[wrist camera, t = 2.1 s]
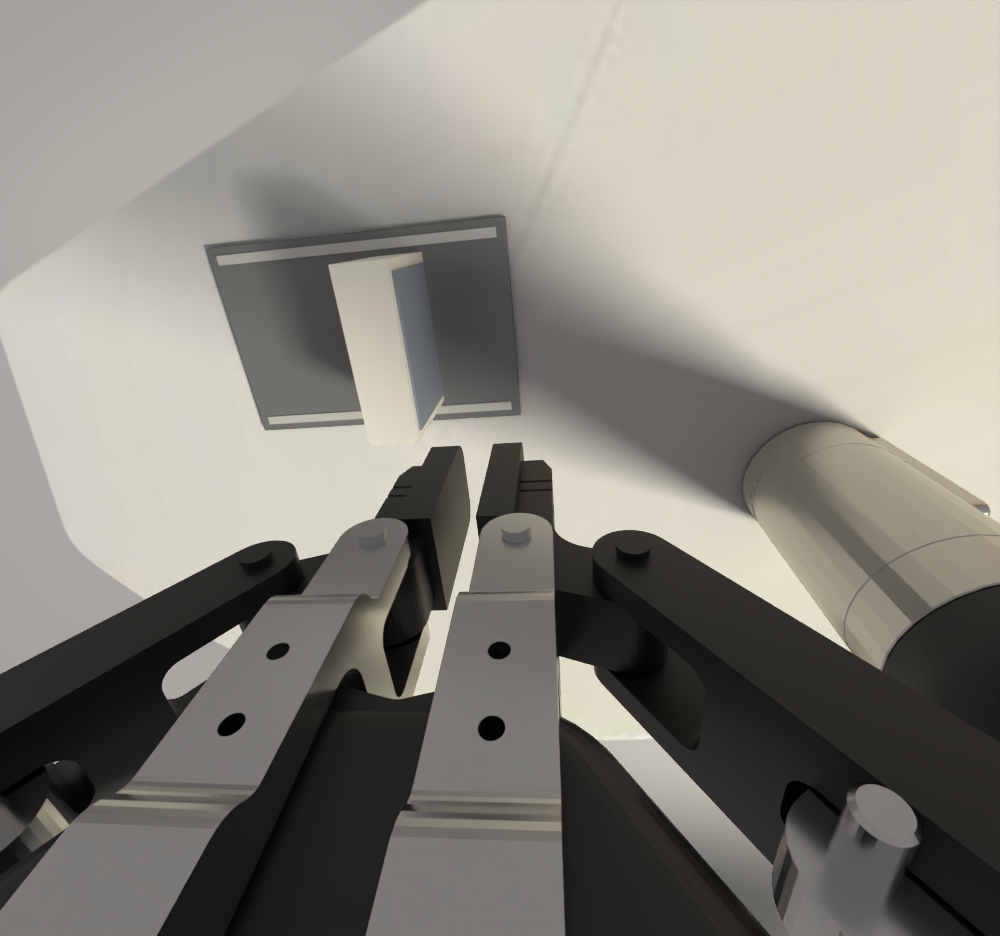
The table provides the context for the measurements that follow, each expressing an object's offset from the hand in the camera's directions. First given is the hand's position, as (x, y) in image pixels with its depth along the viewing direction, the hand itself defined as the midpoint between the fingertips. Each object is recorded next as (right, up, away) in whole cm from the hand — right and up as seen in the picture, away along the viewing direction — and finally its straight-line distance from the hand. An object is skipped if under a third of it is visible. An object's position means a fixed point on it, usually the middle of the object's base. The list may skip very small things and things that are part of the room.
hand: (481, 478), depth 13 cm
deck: (-6, +8, +18) cm, 20 cm away
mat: (-9, +10, +22) cm, 25 cm away
